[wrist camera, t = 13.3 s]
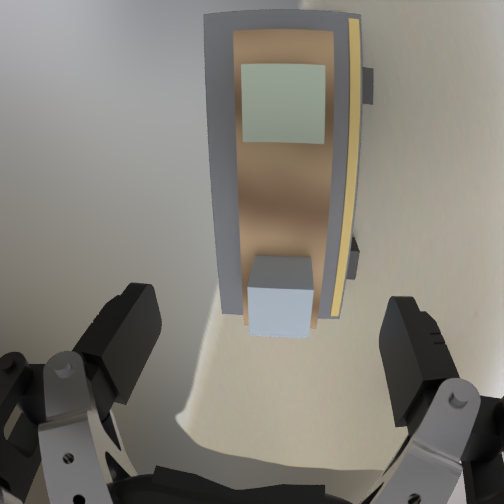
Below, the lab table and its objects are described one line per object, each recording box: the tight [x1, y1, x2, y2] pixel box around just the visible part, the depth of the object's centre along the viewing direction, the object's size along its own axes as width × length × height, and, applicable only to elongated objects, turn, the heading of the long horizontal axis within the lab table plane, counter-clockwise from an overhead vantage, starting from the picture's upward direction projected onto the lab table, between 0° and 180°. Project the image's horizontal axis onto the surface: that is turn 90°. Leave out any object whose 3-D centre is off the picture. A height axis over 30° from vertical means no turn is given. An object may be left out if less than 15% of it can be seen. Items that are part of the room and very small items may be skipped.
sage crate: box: [241, 64, 325, 144], centre depth 15 cm, size 4×4×4 cm
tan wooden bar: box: [233, 29, 334, 329], centre depth 22 cm, size 22×6×5 cm, turn 2°
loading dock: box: [204, 9, 373, 319], centre depth 26 cm, size 28×13×4 cm, turn 2°
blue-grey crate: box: [247, 255, 314, 338], centre depth 21 cm, size 4×4×4 cm
